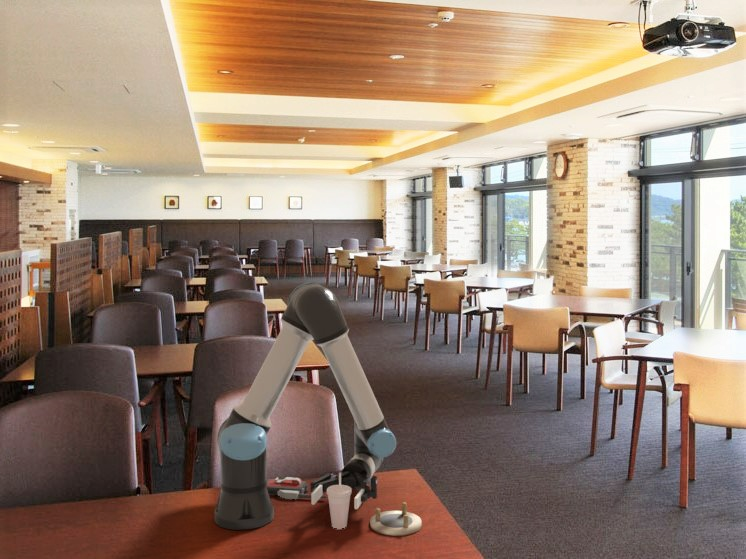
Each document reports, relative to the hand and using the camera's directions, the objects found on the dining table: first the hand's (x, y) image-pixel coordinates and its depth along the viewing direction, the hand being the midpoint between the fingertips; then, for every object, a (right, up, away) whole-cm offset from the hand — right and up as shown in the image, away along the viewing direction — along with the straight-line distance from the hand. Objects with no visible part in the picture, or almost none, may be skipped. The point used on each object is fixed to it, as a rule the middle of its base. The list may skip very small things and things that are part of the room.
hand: (334, 501), depth 175 cm
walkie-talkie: (-13, -7, +26) cm, 30 cm away
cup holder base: (+15, -8, +6) cm, 18 cm away
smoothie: (+1, -8, +5) cm, 9 cm away
